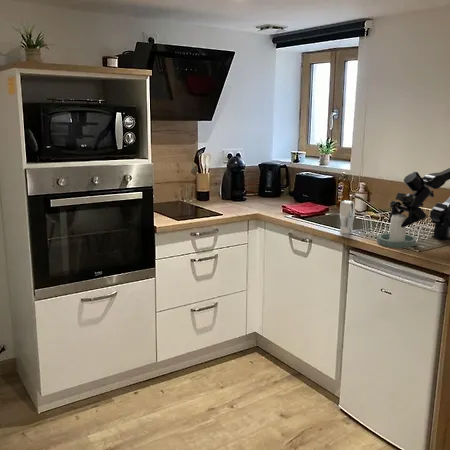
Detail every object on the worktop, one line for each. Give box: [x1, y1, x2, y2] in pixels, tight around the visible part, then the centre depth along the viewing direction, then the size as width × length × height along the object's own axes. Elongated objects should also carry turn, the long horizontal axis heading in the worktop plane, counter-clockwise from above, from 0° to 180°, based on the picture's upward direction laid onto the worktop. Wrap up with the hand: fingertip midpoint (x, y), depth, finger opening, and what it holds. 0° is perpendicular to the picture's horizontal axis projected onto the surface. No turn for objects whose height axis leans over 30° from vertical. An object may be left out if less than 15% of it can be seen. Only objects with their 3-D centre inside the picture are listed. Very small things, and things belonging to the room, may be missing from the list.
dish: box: [377, 232, 418, 249], centre depth 222 cm, size 16×16×2 cm
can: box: [389, 213, 407, 242], centre depth 221 cm, size 6×6×12 cm
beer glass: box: [339, 200, 356, 235], centre depth 240 cm, size 7×7×15 cm
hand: (395, 224), depth 220 cm, fingers open, 9 cm apart
